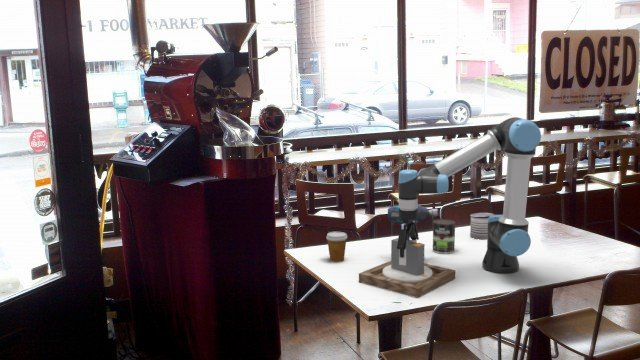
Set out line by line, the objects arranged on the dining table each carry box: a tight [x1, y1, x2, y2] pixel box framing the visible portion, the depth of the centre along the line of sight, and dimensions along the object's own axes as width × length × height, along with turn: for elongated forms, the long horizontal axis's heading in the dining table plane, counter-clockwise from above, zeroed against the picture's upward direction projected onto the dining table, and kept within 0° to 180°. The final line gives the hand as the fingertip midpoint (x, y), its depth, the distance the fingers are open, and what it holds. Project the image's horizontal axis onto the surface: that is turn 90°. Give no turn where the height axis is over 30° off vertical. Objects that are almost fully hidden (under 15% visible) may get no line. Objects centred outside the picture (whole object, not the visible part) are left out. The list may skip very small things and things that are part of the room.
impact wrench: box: [387, 204, 440, 241], centre depth 282 cm, size 8×23×25 cm, turn 78°
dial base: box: [358, 260, 457, 298], centre depth 256 cm, size 28×28×4 cm
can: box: [469, 212, 494, 241], centre depth 318 cm, size 11×11×12 cm
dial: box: [383, 237, 432, 284], centre depth 255 cm, size 20×20×14 cm
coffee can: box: [432, 218, 456, 255], centre depth 295 cm, size 10×10×14 cm
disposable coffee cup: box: [326, 231, 348, 263], centre depth 284 cm, size 10×10×12 cm
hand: (408, 260), depth 255 cm, fingers open, 13 cm apart
